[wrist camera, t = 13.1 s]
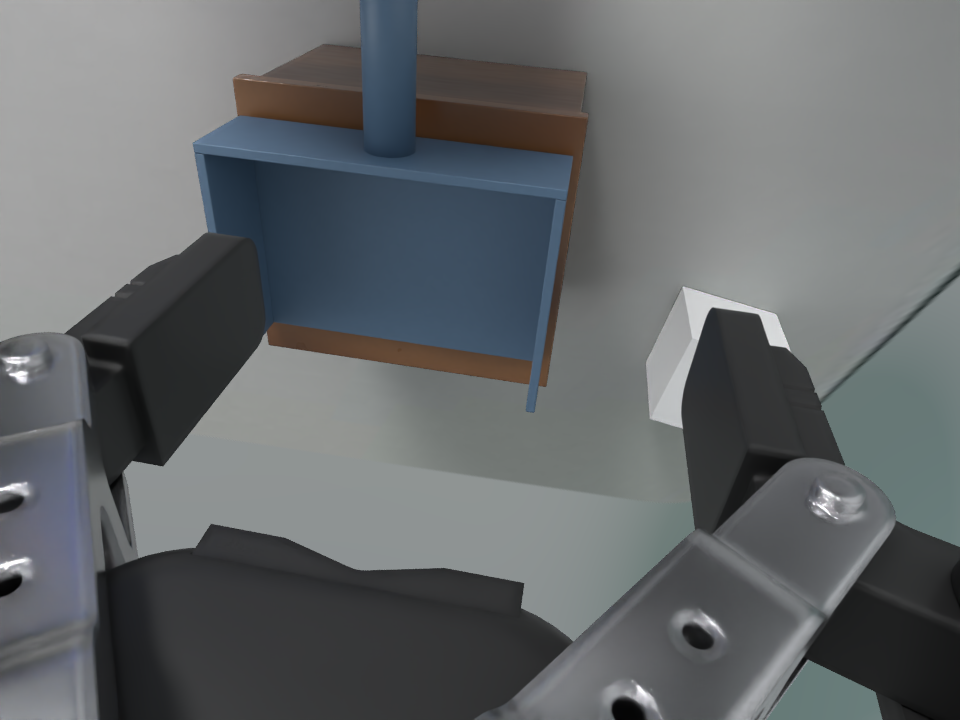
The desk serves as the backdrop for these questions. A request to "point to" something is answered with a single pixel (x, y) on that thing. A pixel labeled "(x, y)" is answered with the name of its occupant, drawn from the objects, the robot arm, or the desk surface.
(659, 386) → the white cube
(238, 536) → the robot arm
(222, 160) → the dustpan
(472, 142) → the storage box
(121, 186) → the desk surface
